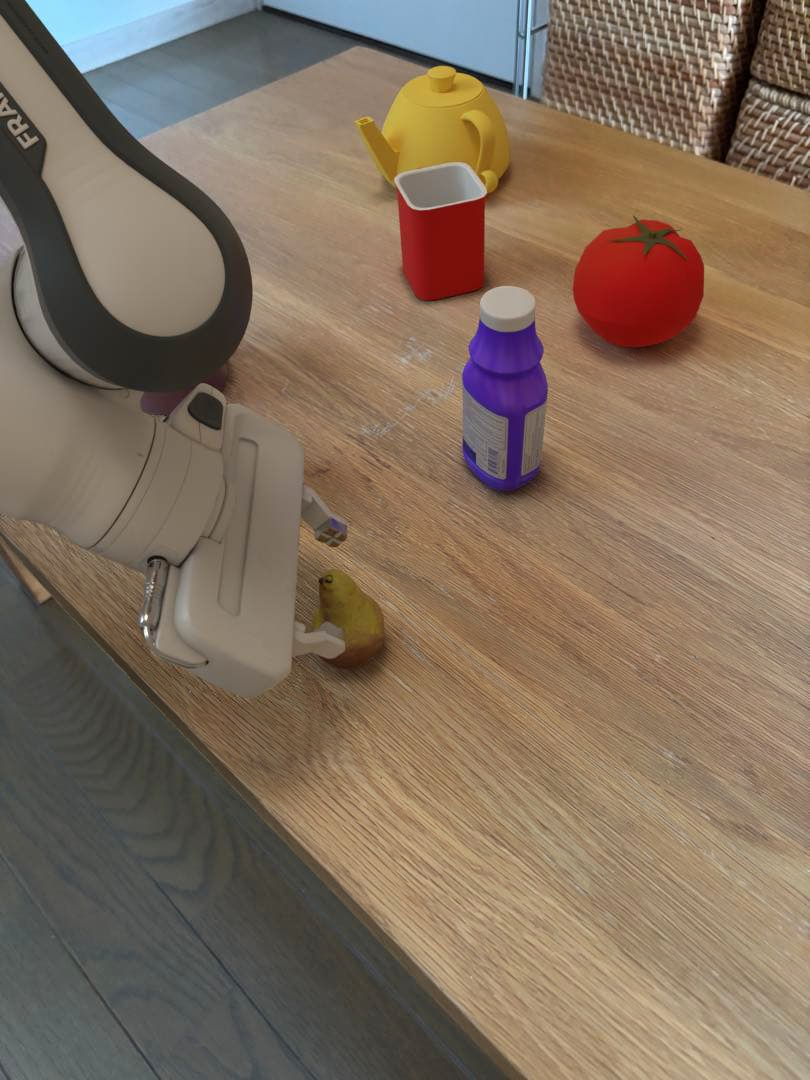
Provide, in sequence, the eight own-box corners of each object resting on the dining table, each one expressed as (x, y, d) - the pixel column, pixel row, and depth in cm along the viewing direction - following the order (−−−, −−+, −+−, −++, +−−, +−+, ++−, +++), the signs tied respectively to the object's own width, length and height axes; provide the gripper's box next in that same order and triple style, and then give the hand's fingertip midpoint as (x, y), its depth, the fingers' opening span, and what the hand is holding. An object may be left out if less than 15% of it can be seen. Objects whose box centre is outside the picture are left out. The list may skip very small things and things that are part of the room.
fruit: (405, 651, 64) (393, 549, 55) (343, 696, 62) (320, 597, 53) (360, 606, 67) (342, 502, 58) (300, 646, 65) (271, 545, 56)
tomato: (693, 373, 83) (717, 276, 75) (563, 363, 85) (573, 268, 77) (692, 293, 91) (714, 198, 83) (574, 285, 93) (583, 192, 85)
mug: (490, 289, 94) (492, 196, 85) (418, 305, 92) (412, 213, 84) (455, 234, 101) (454, 144, 93) (388, 248, 100) (380, 158, 92)
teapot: (461, 133, 117) (460, 30, 108) (547, 188, 107) (554, 80, 97) (333, 178, 111) (319, 74, 102) (410, 242, 101) (403, 132, 91)
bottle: (553, 477, 75) (570, 307, 62) (501, 507, 73) (507, 338, 60) (501, 432, 79) (506, 264, 66) (451, 459, 77) (446, 291, 64)
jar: (119, 418, 84) (82, 328, 76) (137, 354, 90) (104, 265, 82) (222, 411, 83) (195, 321, 75) (232, 347, 90) (208, 257, 82)
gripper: (161, 620, 44) (370, 703, 51) (208, 365, 57) (369, 459, 64) (104, 671, 48) (307, 742, 55) (160, 420, 61) (318, 503, 68)
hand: (341, 587), depth 60 cm, fingers open, 8 cm apart
